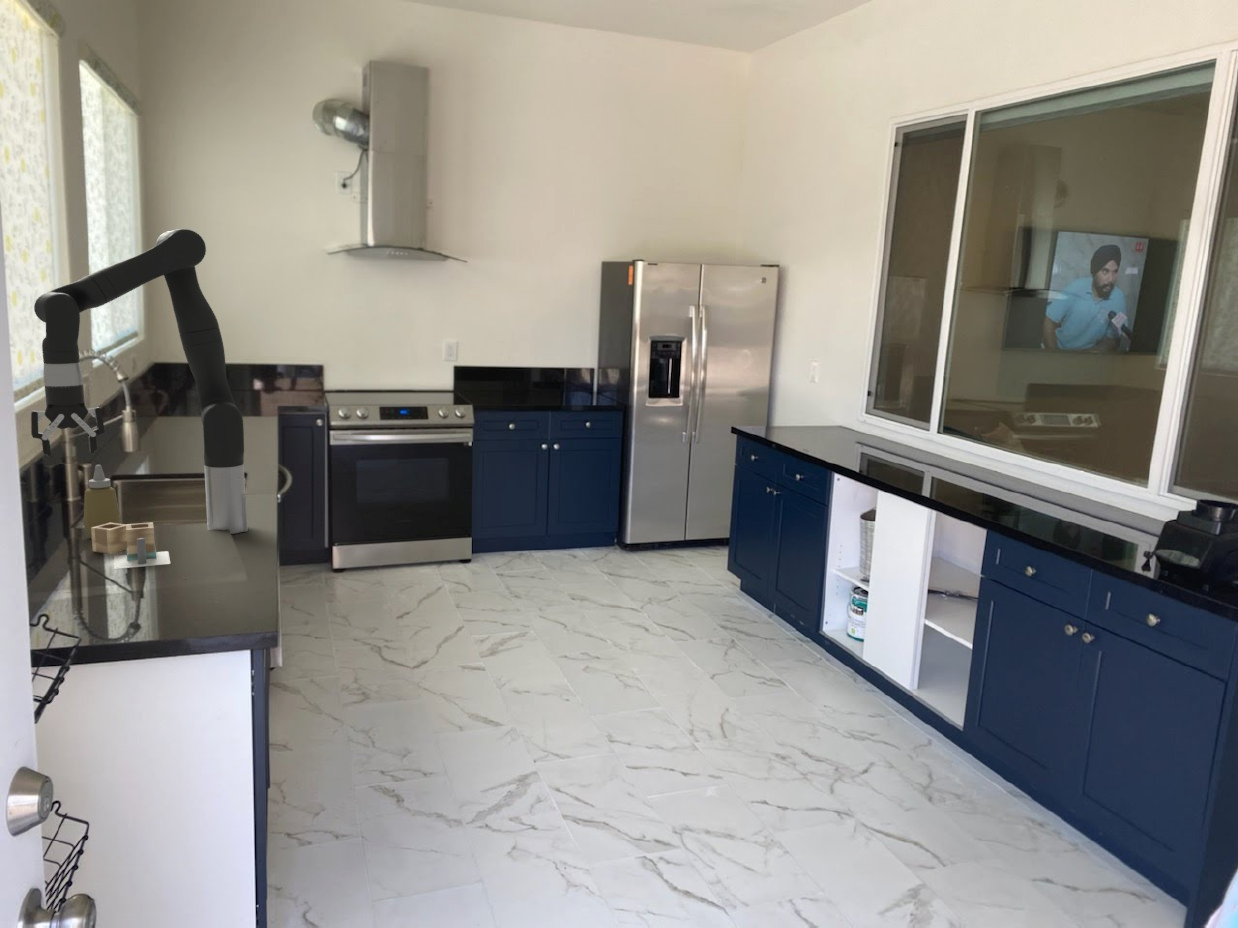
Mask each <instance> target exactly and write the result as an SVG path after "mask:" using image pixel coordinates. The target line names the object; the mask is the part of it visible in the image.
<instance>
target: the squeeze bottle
mask: <svg viewBox="0 0 1238 928" xmlns="http://www.w3.org/2000/svg"><path fill="white" fill-rule="evenodd" d="M105 476H106V475H105V473H104V470H103V467H102V465H101V464H96V465H95V467H94V473H93V477H92V478H91V479H89V480H88V488H87V489H86V490H84V500H83V502H84V503H83V505H84V507H83V526H84V528H85V531H86V533H87V535H88V537H89V538H90V539H91V540H92V533H91V528H92V527H95V526H99V525H103V524H107V523H118V524H121V522H122V521H121V515H120V509H119V505H118V498H117V492H116V489H115V488H113V487H112V486H111V479H110V478H106V477H105Z"/></svg>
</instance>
